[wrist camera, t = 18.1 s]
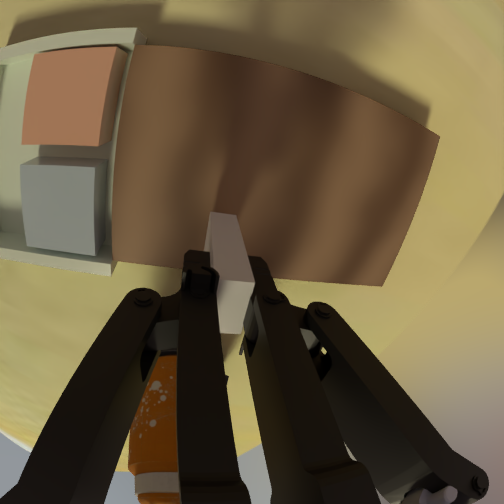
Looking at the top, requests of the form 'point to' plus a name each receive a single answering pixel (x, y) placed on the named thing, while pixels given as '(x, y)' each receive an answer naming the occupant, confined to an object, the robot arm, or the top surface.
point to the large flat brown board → (262, 166)
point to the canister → (156, 436)
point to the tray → (51, 146)
